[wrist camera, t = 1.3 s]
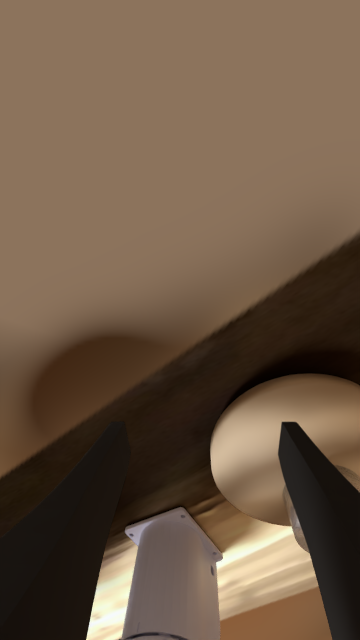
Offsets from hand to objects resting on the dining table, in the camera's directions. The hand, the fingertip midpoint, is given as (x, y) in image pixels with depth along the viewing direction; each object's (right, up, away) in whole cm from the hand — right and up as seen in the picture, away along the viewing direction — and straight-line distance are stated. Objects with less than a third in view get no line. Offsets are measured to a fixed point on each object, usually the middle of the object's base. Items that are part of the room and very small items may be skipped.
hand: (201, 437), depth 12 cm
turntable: (+10, -6, +12) cm, 17 cm away
